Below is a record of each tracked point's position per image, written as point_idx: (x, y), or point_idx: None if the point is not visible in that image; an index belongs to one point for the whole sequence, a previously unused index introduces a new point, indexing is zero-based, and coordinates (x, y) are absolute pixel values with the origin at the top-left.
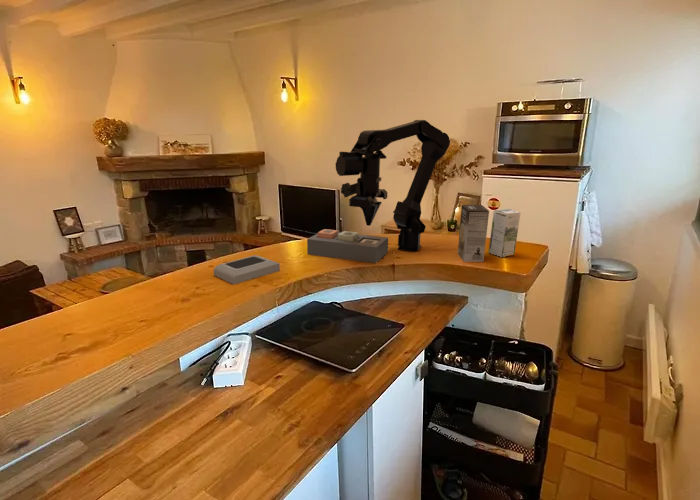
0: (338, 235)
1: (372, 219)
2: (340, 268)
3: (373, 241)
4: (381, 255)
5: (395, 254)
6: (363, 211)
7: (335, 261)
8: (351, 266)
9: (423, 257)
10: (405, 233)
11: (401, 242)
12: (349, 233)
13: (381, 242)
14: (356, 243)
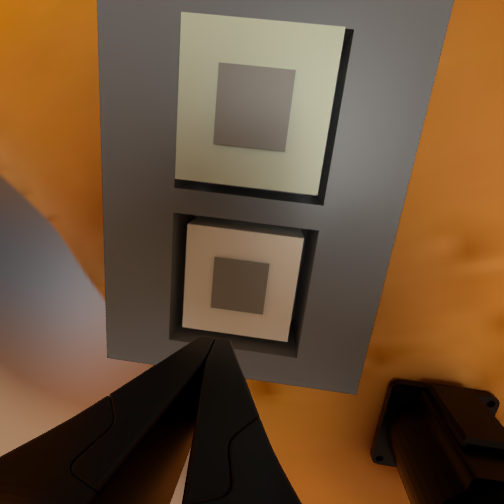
0: (182, 23)
1: (188, 445)
2: (9, 165)
3: (257, 312)
4: None
5: None
6: (22, 457)
7: (94, 102)
8: (59, 210)
9: (297, 477)
10: (432, 497)
11: (428, 419)
12: (246, 124)
13: None
14: (135, 221)
